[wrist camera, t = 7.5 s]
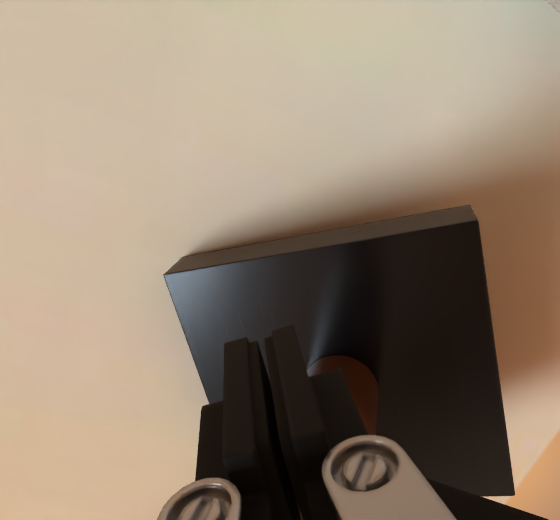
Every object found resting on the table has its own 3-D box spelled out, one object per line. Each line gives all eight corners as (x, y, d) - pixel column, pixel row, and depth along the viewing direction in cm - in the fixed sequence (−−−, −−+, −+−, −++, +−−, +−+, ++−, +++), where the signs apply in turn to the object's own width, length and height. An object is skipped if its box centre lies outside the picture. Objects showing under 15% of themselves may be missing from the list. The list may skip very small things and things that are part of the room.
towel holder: (169, 260, 22) (432, 188, 22) (243, 474, 26) (468, 412, 26) (-39, 763, 5) (1055, 457, 5) (261, 1162, 9) (899, 980, 9)
